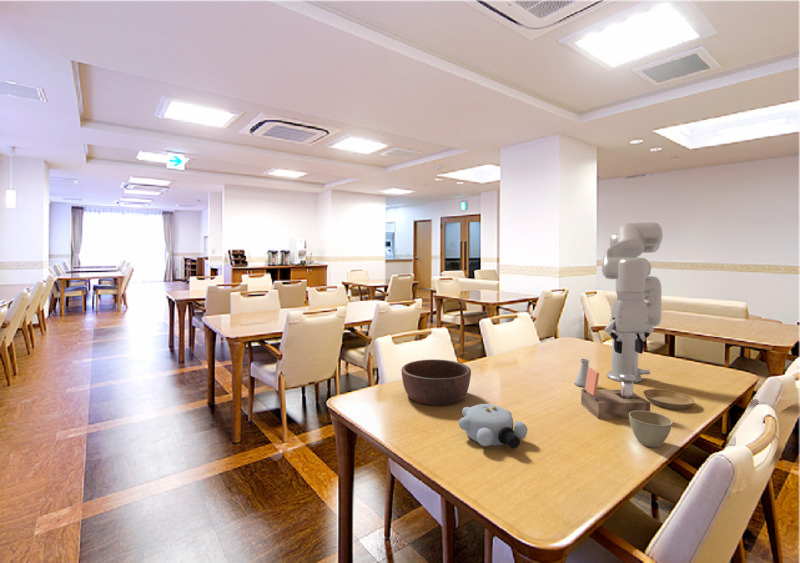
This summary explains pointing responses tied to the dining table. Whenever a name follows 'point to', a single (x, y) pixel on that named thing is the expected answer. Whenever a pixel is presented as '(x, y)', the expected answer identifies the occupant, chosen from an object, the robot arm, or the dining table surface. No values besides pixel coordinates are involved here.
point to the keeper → (591, 381)
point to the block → (612, 404)
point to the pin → (627, 385)
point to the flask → (582, 373)
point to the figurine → (492, 426)
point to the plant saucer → (668, 398)
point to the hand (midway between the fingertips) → (628, 352)
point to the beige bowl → (650, 427)
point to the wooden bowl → (436, 381)
